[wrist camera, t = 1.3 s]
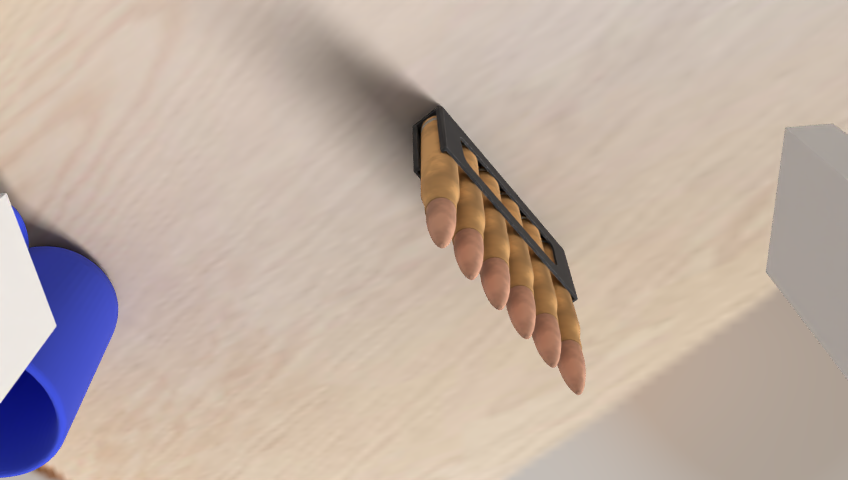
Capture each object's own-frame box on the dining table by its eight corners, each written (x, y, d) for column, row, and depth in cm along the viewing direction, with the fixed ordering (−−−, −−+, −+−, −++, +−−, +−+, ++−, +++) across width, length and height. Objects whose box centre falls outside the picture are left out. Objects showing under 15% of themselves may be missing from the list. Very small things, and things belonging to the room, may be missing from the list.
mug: (86, 149, 39) (-12, 245, 31) (155, 343, 45) (90, 471, 36) (-69, 169, 40) (-209, 268, 31) (19, 358, 46) (-78, 487, 37)
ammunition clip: (411, 126, 39) (406, 242, 28) (440, 103, 38) (446, 213, 28) (536, 269, 43) (573, 418, 32) (564, 251, 42) (611, 396, 32)
